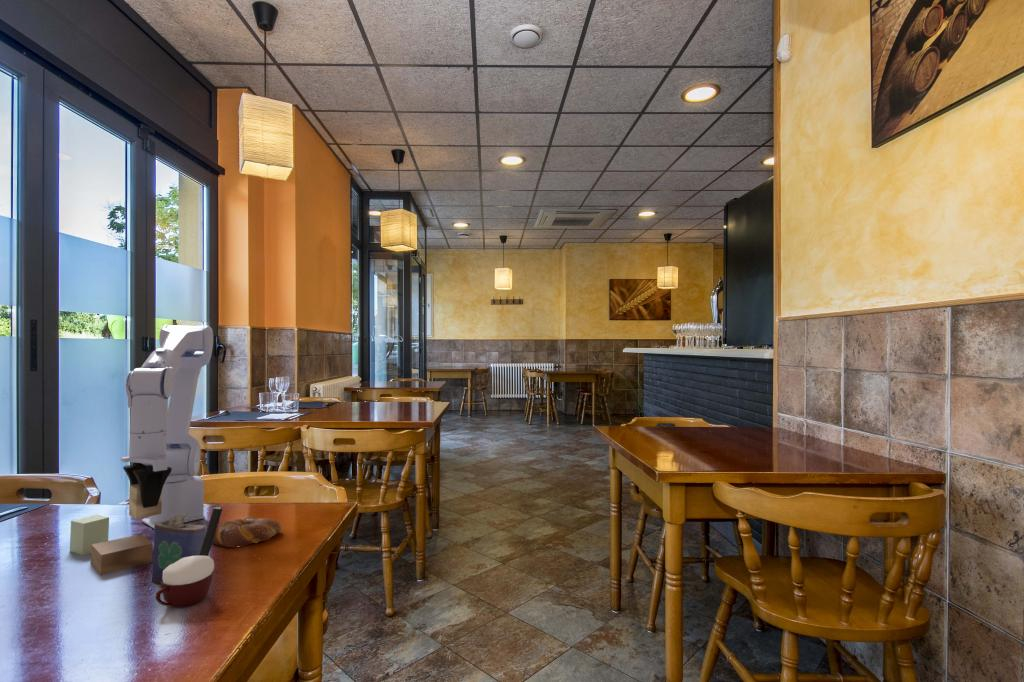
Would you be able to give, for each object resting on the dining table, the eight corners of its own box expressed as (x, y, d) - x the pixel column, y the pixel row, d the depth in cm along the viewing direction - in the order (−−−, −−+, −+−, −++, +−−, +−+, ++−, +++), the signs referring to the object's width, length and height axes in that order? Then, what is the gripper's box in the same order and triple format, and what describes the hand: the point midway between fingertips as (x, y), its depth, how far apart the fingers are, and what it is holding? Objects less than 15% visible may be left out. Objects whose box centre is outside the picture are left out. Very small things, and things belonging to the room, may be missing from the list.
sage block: (95, 544, 95) (96, 514, 95) (107, 547, 93) (109, 517, 94) (69, 551, 91) (71, 520, 92) (82, 554, 90) (83, 523, 90)
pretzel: (280, 526, 106) (281, 509, 107) (280, 544, 97) (281, 524, 97) (214, 534, 101) (215, 516, 102) (208, 553, 92) (208, 532, 92)
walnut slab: (139, 553, 91) (140, 534, 91) (151, 563, 87) (152, 543, 87) (90, 565, 86) (91, 544, 86) (100, 577, 81) (101, 555, 82)
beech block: (154, 509, 97) (154, 481, 98) (161, 513, 95) (162, 484, 95) (128, 514, 94) (129, 485, 95) (135, 519, 92) (136, 488, 92)
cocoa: (159, 622, 68) (158, 533, 68) (145, 605, 72) (145, 521, 72) (234, 594, 75) (234, 514, 75) (218, 580, 79) (218, 505, 79)
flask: (207, 582, 79) (209, 513, 79) (191, 591, 76) (193, 519, 77) (162, 575, 82) (164, 508, 82) (144, 583, 79) (146, 513, 79)
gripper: (111, 429, 97) (108, 501, 96) (135, 438, 88) (132, 516, 87) (154, 426, 102) (152, 493, 102) (181, 433, 93) (178, 507, 93)
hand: (146, 504), depth 95 cm, fingers closed on beech block, 4 cm apart
